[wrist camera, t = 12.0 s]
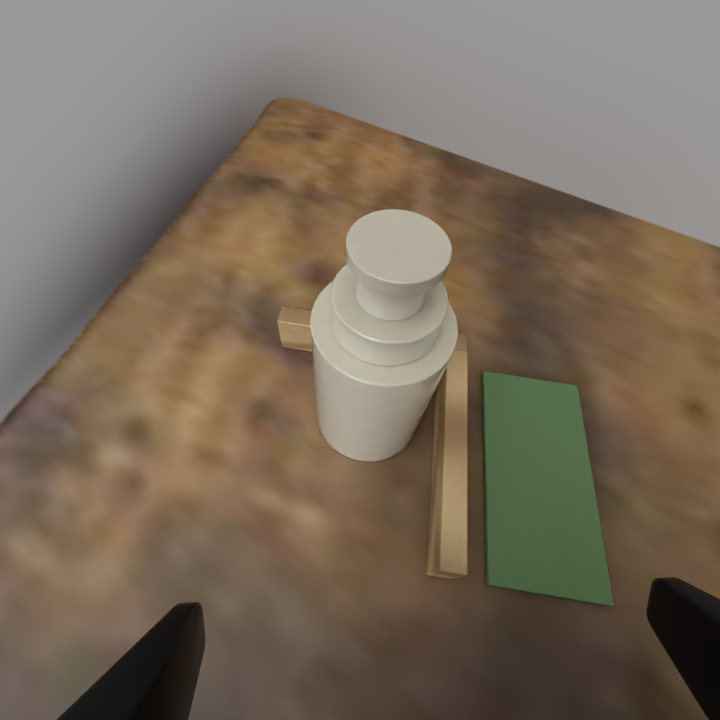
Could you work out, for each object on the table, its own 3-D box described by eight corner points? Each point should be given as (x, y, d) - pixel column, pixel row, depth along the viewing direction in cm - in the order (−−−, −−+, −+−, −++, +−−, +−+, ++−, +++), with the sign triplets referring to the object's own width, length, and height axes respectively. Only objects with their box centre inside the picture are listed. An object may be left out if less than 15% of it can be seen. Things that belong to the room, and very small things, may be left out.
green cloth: (609, 606, 19) (614, 606, 19) (485, 585, 19) (488, 584, 19) (574, 388, 25) (577, 385, 25) (481, 373, 26) (483, 370, 25)
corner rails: (450, 579, 19) (467, 575, 17) (223, 540, 20) (208, 531, 17) (455, 359, 26) (467, 334, 24) (286, 332, 26) (281, 305, 24)
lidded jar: (413, 469, 22) (497, 333, 11) (307, 452, 22) (283, 300, 11) (420, 376, 25) (490, 198, 14) (327, 362, 25) (324, 174, 14)
